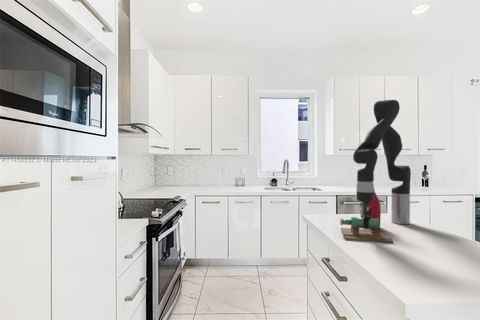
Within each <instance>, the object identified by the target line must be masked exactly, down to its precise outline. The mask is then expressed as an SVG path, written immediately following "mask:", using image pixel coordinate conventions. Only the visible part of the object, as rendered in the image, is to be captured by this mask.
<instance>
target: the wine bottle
mask: <svg viewBox="0 0 480 320" xmlns="http://www.w3.org/2000/svg"><path fill="white" fill-rule="evenodd" d="M374 180H375V174H374V172H373V182H374ZM369 205H370V207H371V212H370V218H378V219H379V220H380V221H381V217H382V216H381V215H382V214H381V213H382V211H381V203H380V201H379V198H378V195H377V194H376V191H375V189H374V201H372V202H369ZM367 217H368V215H367ZM360 218H362V217H361V216H360Z"/></svg>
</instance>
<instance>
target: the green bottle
mask: <svg viewBox="0 0 480 320" xmlns="http://www.w3.org/2000/svg"><path fill="white" fill-rule="evenodd" d="M339 223H340V224H339V225H340V226H343V225H347V226H348V225H349V226H350V228H351V227H352V228H353V226H359V229H367V230H371V229H374V227H380V228H381V219H380V220H379V219H378V218H370V219H369V228H364V227H363V225H364V223H363V218H361V217H356V216H354V217H353V216H351V217H350V219H345V218H344V219H343V218H340V219H339Z"/></svg>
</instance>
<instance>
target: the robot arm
mask: <svg viewBox="0 0 480 320" xmlns="http://www.w3.org/2000/svg"><path fill="white" fill-rule="evenodd" d="M400 106H401V105H400V102H399V101H398V100H397V99H387V100H385V99H384V100H377V101H376V102H374V105H373V113H374V118H375V121H376V124H375V125H374V126H373V127H371V128H370V129H369V131H368V132H367V134H366V136H365V138H364V140H363V142H361V143H360V145H359V146H358V147H357V148H356V149H355V151H354V152H353V156H352V157H353V159H352V160H353V161H354V162H355V164H359V165H365V166H364V168H360V169H359V168H358V170H357V175H356V178H357V179H356V201H358V202H360V203H359V207H360V209H359V214H360V218H361V217H362V218H363V223H364V225H363V227H364V228H363V229H365V228H369V219H370V212H371V207H370V205H369V202H372V201H374V190H375V187H374V181H373V173H374V172H375V169H376V164H377V162H378V161H377V160H378V153H377V151H376V150H378V148H379V146H380V144H381V143H382V148H383V151H384V154H385V159H386V167H387V173H388V177H389V180H390V181H393V182H401V183H402V184H400V185H399V186H394V187H392V188H391V216H390V217H391V221H390V222H391V223H393V224H397V225H410V224H411V223H410V222H411V176H412V174H411V173H412V171H411V168H410V166H409V165H395V164H396V163H395V161H396V160H397V158H398V157H399V156H400V154H401V152H402V149H403V142H402V137H401V135H400V133H398V131H397V130H396V129H394V127H393V126H391V125H392V124H394V123H393V122H394V121H395V120H396V118H397V116H398V115H399V113H400ZM367 215H368V217H367Z"/></svg>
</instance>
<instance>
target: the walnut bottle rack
mask: <svg viewBox="0 0 480 320" xmlns="http://www.w3.org/2000/svg"><path fill="white" fill-rule="evenodd" d="M340 231H341V234H342V237H343V239H344V240H345V241H352V242H353V241H354V242H355V241H356V242H367V243H368V242H370V243H381V244H394V240H393V239H392V238H391V236H390V235H388V234H387V232H386V231H384V230H381V226H380V227H374V229H365V228H359V226H353V228H352V227H351V226H350V227H341V228H340Z"/></svg>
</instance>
